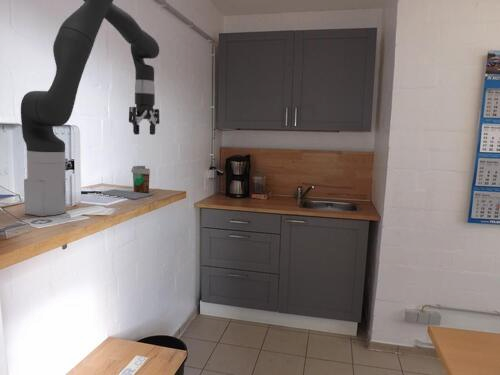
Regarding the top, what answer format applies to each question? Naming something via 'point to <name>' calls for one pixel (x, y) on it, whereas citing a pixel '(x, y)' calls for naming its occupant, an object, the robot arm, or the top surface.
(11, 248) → the top surface
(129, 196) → the mat
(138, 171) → the food container
